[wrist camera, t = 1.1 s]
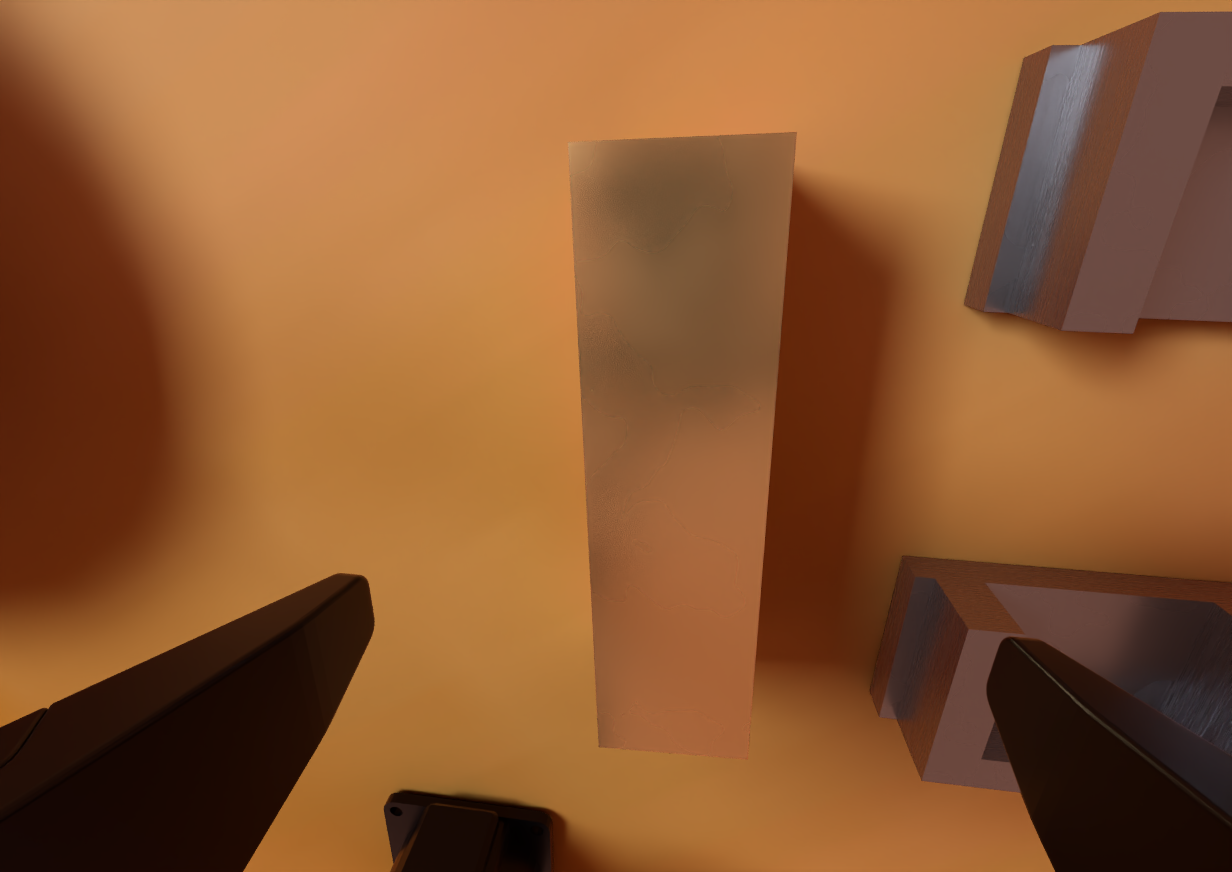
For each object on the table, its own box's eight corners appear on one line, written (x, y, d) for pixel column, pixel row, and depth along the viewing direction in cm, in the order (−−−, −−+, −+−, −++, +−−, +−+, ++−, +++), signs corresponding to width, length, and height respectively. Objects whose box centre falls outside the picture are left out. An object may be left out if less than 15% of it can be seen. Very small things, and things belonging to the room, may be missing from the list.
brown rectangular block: (732, 618, 18) (747, 759, 13) (621, 612, 18) (598, 747, 14) (759, 157, 13) (796, 132, 9) (609, 163, 14) (568, 142, 9)
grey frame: (1182, 724, 17) (1276, 823, 14) (869, 691, 18) (902, 778, 15) (1529, 57, 11) (1813, 6, 8) (1024, 57, 12) (1125, 12, 9)
